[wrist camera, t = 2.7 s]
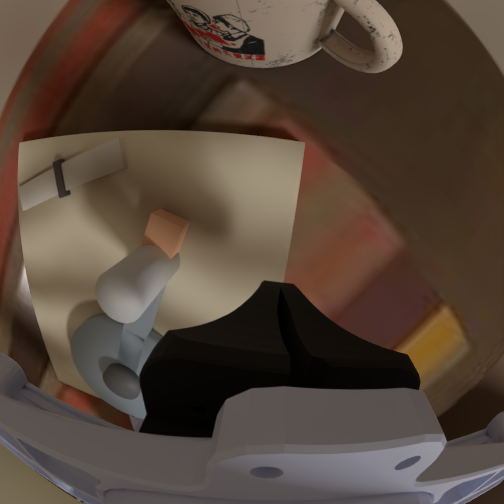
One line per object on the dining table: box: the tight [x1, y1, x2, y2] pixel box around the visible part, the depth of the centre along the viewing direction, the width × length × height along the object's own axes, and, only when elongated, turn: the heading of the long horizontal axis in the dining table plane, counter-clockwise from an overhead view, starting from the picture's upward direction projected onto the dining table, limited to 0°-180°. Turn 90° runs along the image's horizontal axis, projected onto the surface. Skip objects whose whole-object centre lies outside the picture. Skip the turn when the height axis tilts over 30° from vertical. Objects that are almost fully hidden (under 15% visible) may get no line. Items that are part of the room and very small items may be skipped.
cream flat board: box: [18, 130, 305, 399], centre depth 17 cm, size 23×20×2 cm
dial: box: [71, 209, 190, 419], centre depth 15 cm, size 18×10×5 cm, turn 156°
